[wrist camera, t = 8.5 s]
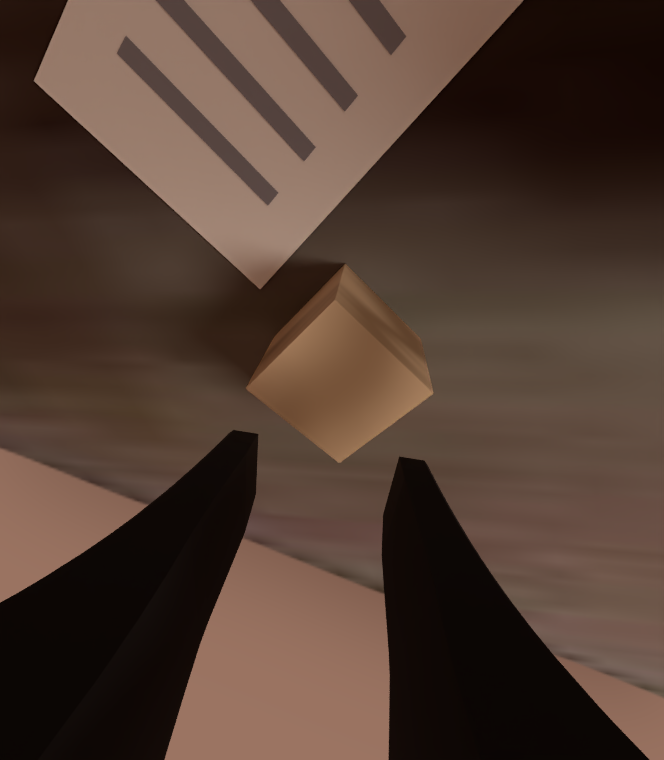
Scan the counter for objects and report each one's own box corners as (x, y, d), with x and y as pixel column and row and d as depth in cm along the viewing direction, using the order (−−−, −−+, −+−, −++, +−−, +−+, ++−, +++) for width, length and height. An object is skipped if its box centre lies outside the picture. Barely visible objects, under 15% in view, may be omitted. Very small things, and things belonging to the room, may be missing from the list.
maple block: (420, 338, 17) (433, 393, 13) (346, 398, 19) (339, 463, 15) (345, 262, 16) (335, 299, 12) (274, 336, 18) (245, 388, 14)
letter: (586, -69, 11) (589, -72, 10) (260, 288, 16) (260, 289, 16) (314, -569, 8) (313, -581, 8) (35, 81, 14) (32, 80, 13)
